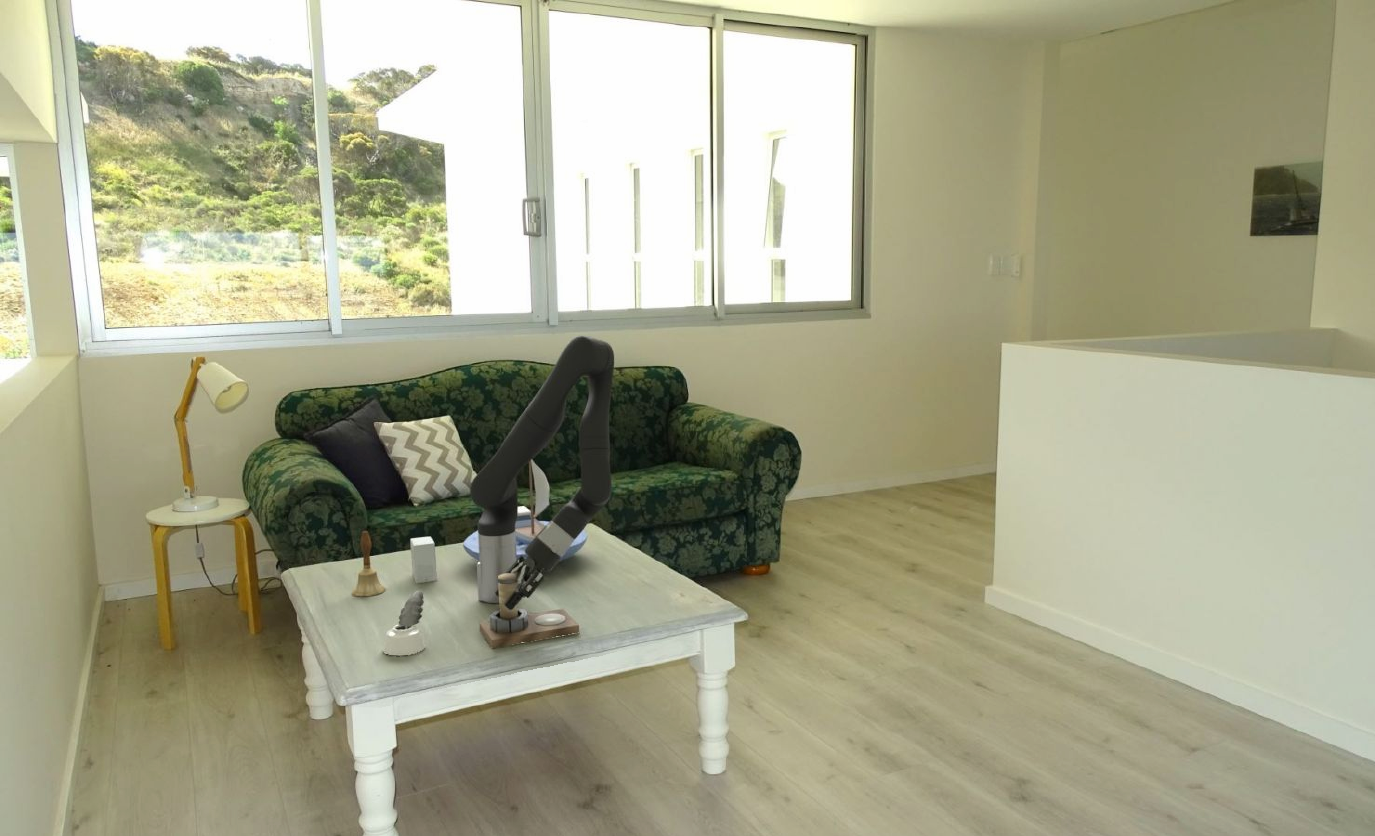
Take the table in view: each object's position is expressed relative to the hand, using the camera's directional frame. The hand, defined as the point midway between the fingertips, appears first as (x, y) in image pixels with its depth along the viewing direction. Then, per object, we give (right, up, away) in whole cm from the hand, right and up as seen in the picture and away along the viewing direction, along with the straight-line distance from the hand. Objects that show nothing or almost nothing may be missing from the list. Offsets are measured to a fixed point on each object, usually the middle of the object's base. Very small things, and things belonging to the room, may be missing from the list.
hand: (502, 601), depth 221 cm
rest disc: (+10, -5, +5) cm, 12 cm away
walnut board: (+5, -8, +4) cm, 10 cm away
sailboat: (-4, 0, +57) cm, 57 cm away
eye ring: (+1, -6, +1) cm, 6 cm away
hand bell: (-41, -4, +34) cm, 54 cm away
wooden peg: (+1, -6, +1) cm, 6 cm away
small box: (-29, -2, +44) cm, 53 cm away
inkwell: (-21, -9, 0) cm, 22 cm away
